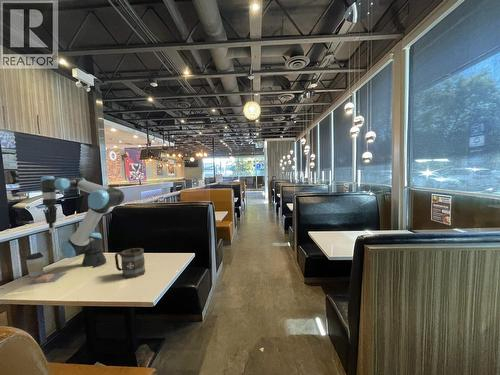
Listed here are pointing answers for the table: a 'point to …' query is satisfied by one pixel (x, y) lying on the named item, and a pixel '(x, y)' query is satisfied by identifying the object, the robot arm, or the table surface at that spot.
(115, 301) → the table surface
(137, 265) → the mug
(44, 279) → the tile
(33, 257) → the coffee cup
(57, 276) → the board
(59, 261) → the table surface
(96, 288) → the table surface
